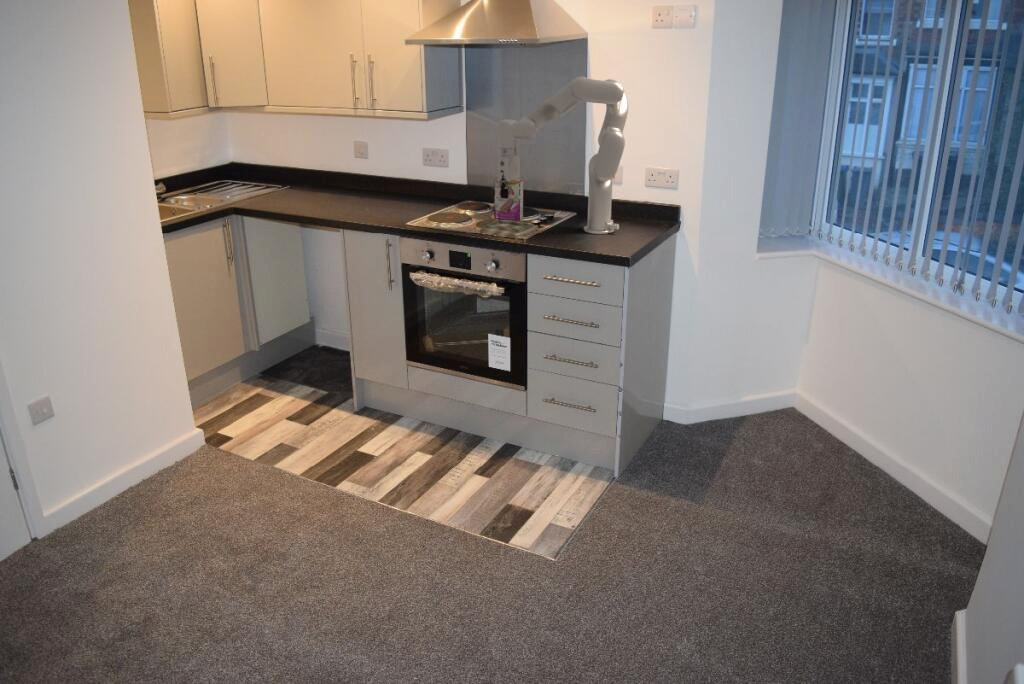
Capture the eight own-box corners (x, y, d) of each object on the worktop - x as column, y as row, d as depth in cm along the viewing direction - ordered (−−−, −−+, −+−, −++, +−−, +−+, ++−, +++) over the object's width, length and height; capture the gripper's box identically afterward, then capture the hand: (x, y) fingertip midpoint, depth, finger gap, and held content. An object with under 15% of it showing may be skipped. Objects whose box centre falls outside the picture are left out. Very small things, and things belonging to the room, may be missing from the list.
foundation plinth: (538, 230, 341) (538, 222, 340) (516, 239, 328) (516, 231, 327) (501, 224, 350) (501, 217, 349) (479, 233, 337) (479, 226, 335)
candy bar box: (494, 219, 336) (493, 179, 330) (497, 217, 341) (497, 177, 334) (520, 221, 333) (520, 181, 327) (523, 218, 338) (523, 179, 332)
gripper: (505, 155, 318) (505, 201, 325) (527, 149, 331) (527, 193, 338) (488, 154, 321) (489, 199, 328) (511, 148, 335) (512, 191, 342)
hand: (508, 196), depth 333 cm, fingers closed on candy bar box, 5 cm apart
